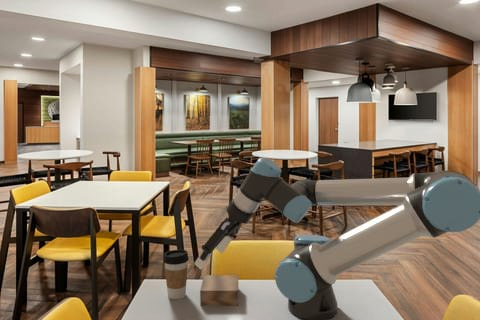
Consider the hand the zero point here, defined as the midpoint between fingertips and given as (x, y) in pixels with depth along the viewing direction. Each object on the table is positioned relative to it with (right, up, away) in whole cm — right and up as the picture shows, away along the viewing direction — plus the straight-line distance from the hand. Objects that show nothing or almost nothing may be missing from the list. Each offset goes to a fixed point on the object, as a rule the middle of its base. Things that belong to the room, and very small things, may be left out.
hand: (209, 258), depth 116 cm
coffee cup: (-12, -16, +11) cm, 22 cm away
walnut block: (+3, -15, +9) cm, 18 cm away
